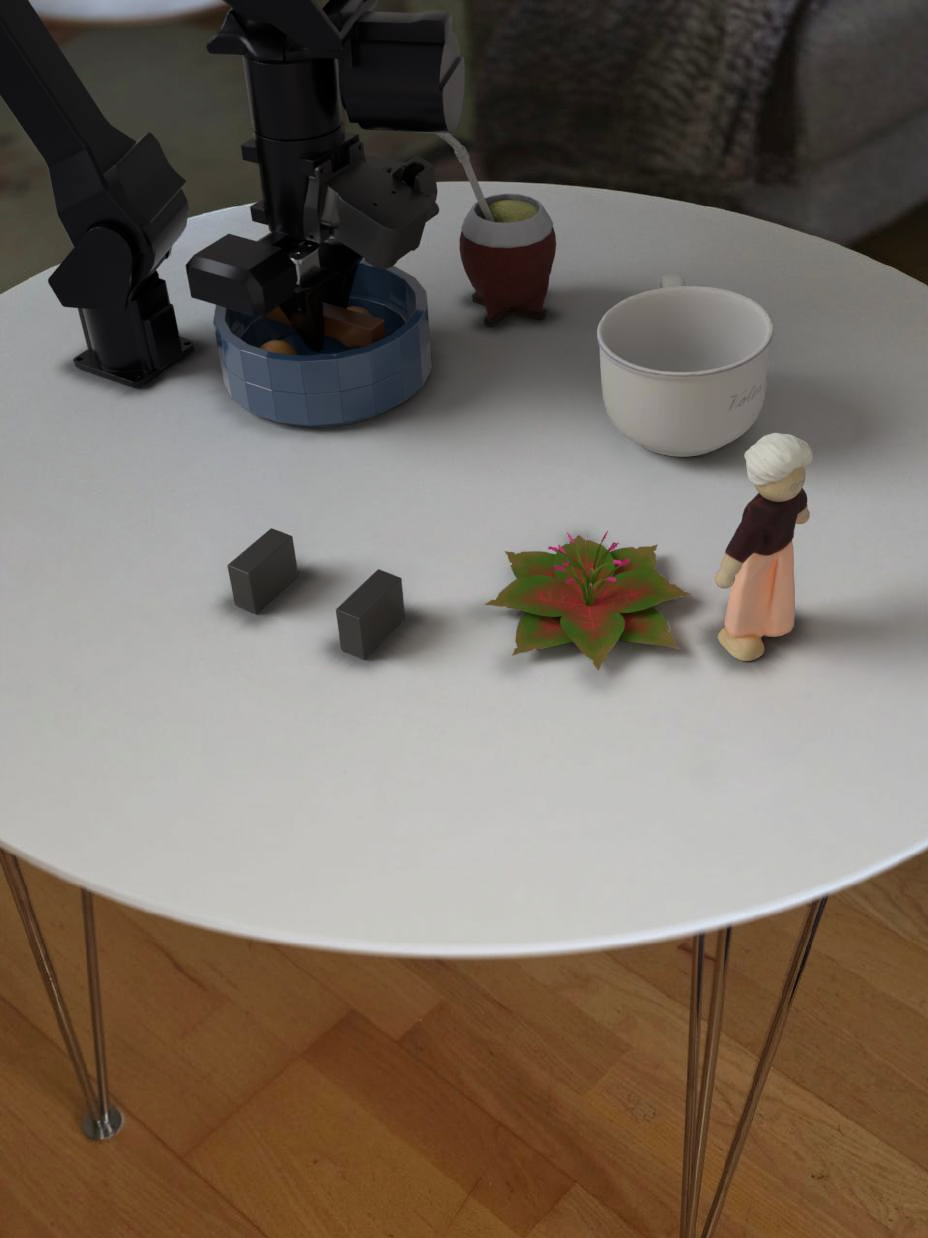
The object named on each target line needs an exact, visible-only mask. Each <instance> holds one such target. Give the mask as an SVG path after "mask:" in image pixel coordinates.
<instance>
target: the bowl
mask: <svg viewBox="0 0 928 1238" xmlns="http://www.w3.org/2000/svg"><path fill="white" fill-rule="evenodd" d="M350 293H351V294H350V298H349V302H348V307H352V306H358V307H362V308H364V309H366V310H368V311H369V312H370V313H371V314H372V316H373V317H377V318H380V319H384V321H385V333H386V338H384V339H382V340H379V341H377V342H375V343H372V344H370V345H368V346H365V347H361V348H357V349H352V348H348V347H346V346H344V345H343V344H342V343H341V342H340V341H339V340H333V339H330V338H327V337H326V336H324V349H323V350H322V351H321V352H315V351H312V350H310V349H309V348H308V347H307V346H306V344H305V343H304V342H303V340H302V339H301V337H300V336H299V334H298V333H297V331H296V330H295V329H294V327H293V326H291V325H287V324H284V323H281V322H277V321H274V320H271V319H268V318H264V317H263V316H262V315H259V316H251V315H248V314H245V313H241V312H238V311H235V310H231V309H228V308H225V307H221V306H218V305H215V308H214V315H213V320H212V322H213V323H212V324H213V329H214V333H215V340H216V344H217V351H218V356H219V361H220V362H219V363H220V367H221V368H220V369H221V373H222V378H223V383H224V385H225V387H226V390H227V391H228V394H229V396H230V397H231V400H232V401H234V402H235V403H237V404H238V405H239V406H240V407H242V408H244V410H246V411H247V412H249V413H251V414H253V415H256V416H259V417H262V418H264V419H267V420H270V421H273V422H276V423H279V424H285V425H289V426H295V427H296V426H297V427H307V428H308V427H309V428H310V427H312V428H313V427H314V428H320V427H321V428H323V427H335V426H344V425H350V424H355V423H359V422H362V421H366V420H370V419H372V418H374V417H379V416H380V415H382V414H385V413H387V412H390V411H391V410H393V409H394V408H397V407H398V406H399V405H401V404H403V403H405V402H406V401H407V400H408V399H409V398H411V397H413V395H414V394H416V393H417V392H418V391H419V390H421V389H422V388H423V387H424V385H425V383H426V381H427V379H428V377H429V375H430V373H431V372H432V367H433V365H432V353H431V337H430V320H429V319H430V318H429V303H428V294H427V290H426V289H425V287H423V285H422V284H421V283H420V281H419V280H418V279H417V277H415V276H414V275H412V274H410V273H409V272H406V271H404V270H403V269H401V268H399V267H398V266H395V265H394V266H392V267H390V268H387V269H380V268H376V267H373V266H372V265H370V264H368V263H367V262H366V261H365V259H364V258H363V259H362V260H361V261H360V263H359V265H358V268H357V271H356V275H355V278H354V282H353V285H352V289H351V292H350ZM348 307H347V308H348ZM271 340H282V341H285V342H287V343H289V344H290V345H291V346H292V347H293V348H294V349H295V350H296V352H297V355H292V354H282V353H273V352H270V351H267V350H263V349H260V347H261V346H262V345H263V344H265V343H266V342H268V341H271ZM319 354H321V355H319Z"/></svg>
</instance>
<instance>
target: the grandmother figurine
mask: <svg viewBox="0 0 928 1238" xmlns="http://www.w3.org/2000/svg"><path fill="white" fill-rule="evenodd" d="M743 457H744V459H745V462H746V463H745V467H746V472H747V478H748V479H749V480H750V482H751V483H753V486H754V488H755V490H756V491H757V492H758V493H757V494H756V495H755V496H754V497H753V498H752V499H751V500H750V501H749V502H748V503H746V506H745V507H744V509H743V512H742V515H741V521H740V523H739V524H738V526H737V528H736V530H735V532H734V533H733V534H732V537H731V539H730V540H729V543H728V544H727V545H726V548H725V551H724V554H723V557H722V560H721V562H720V567H719V568H720V569H718V570H717V572H716V573H715V575H714V584H715V585H716V586H717V587H718V588H720V589H724V590H725V589H730V591H729V596H728V603H727V607H726V613H725V618H724V622H723V623H724V627H723V628H722V629H721V630H720V631H719V632H718V633H717V640H718V642H719V643H720V645H721V646H722V647H723V648H724V649H725V650H726V651H727V652H728V654H729V655H730V656H731V657H733V658H734V659H735V660H739V661H741V662H751V661H755V660H757V659H759V658H761V656H763V655H764V653H765V648H766V647H765V643H764V641H763V640H762V637H763V636H764V637H766V638H767V637H768V638H777V637H782V636H785V635H786V634H788V633H790V632H791V631H792V630H793V628H794V626H795V616H796V615H795V614H796V584H795V582H796V581H795V554H794V553H795V552H794V551H795V550H794V543H793V540H794V537H795V536H794V535H795V528H796V525H803V524H806V523H807V522H808V521H809V520H810V517H811V515H810V514H811V513H810V510H809V507H808V494H807V493H806V491H805V489H804V488H803V487H804V485H805V483H806V468H807V467H808V466H809V465H810V464H811V463H812V461H813V458H814V456H813V450H812V448H811V446H810V445H809V444H808V442H806V441H805V440H802V439H801V438H798V437H796V436H795V435H793V434H790V433H789V434H788V433H781V432H780V433H779V432H772V433H770V434H765V435H763V436H762V437H761V438H759V439H758V440H757V442H755V444H753V445H751V446H750V448H749V449H747V450H746V451H745V452H744V456H743Z"/></svg>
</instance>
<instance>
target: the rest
mask: <svg viewBox="0 0 928 1238" xmlns="http://www.w3.org/2000/svg"><path fill="white" fill-rule="evenodd" d="M294 543H295V542H294V537H293V535H291V534H288V533H285V532H283V531H280V530H278V529H276V528H273V527H271V528H269V529H268V530H267V531H266V532H265V533H264V534H262V535H260V536H259V538H257V539H256V540H255V541H254V542H253V543H252V544H250V545H249V546H248V547H247V548H245V550H244V551H242V552H241V553H240V554H239V555H237V556H236V557H235V558H234V559H233V560H231V562H229V563H228V564H227V565H226V566H227V567H226V568H227V572H228V576H229V582H230V586H231V587H230V588H231V592H232V596H233V602H234V605H235V607H238V608H241V609H243V610H244V611H247V612H250V613H252V614H254V615H255V614H256V615H257V614H259V612H260V611H261V610H263V609H264V608H265V607H266V606H267V605H268V604H269V603H270V602H271V601H273V600H274V599H275V598H276V597H277V596H278V595H279V594H280V593H281V592H282V591H284V590H285V589H286V588H287V587H288V586H289V585H290V584H291V583H293V582H294V581H295V580H296V579H297V578H298V577H299V570H298V563H297V556H296V551H295V544H294ZM335 614H336V622H337V630H338V636H339V644H340V651H342V652H344V653H346V654H349V655H351V656H354V657H356V658H358V659H361V660H366V659H367V658H368V657H369V656H370V655H371V654H372V653H373V652H374V651H375V650H376V649H377V648H378V646H380V645H381V644H382V643H383V642H384V641H385V640H386V639H387V638H388V637H389V636H390V634H392V632H393V631H394V630H395V629H396V628H397V627H398V626H400V624H401V623H403V621H404V620H405V619H406V613H405V602H404V590H403V579H402V577H400V576H397V575H395V574H393V573H390V572H387V571H385V570H382V569H381V568H378V569H376V570H375V572H373V573H372V574H371V575H370V576H369V577H368V578H367V579H366V580H365V581H363V583H362V584H360V586H359V587H358V588H356V589H355V590H354V591H353V592H352V594H350V595H349V596H348V597H347V598H346V599H345V600H344V601H343V602H342V603H341V604H340V605H339V606H337V608H335Z"/></svg>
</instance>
